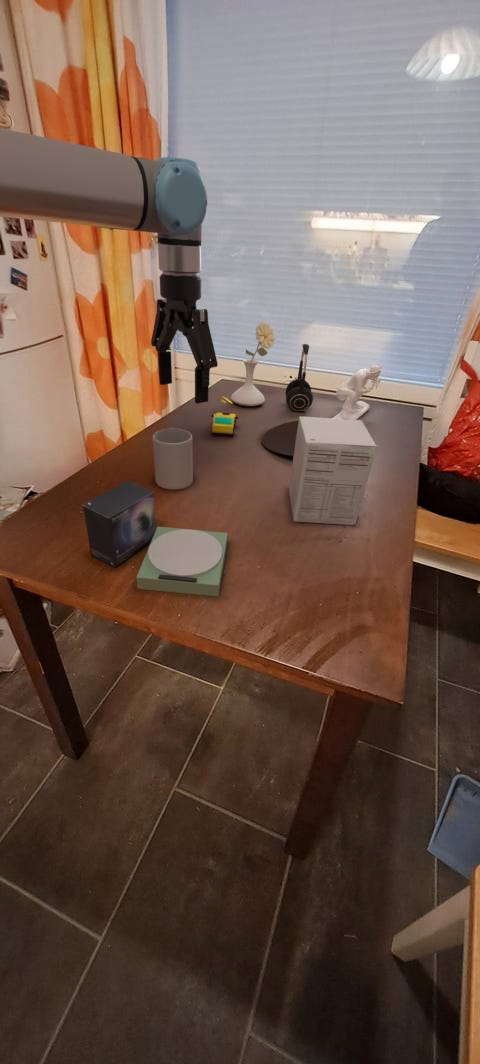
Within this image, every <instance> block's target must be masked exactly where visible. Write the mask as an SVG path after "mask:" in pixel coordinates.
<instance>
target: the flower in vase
mask: <svg viewBox="0 0 480 1064" xmlns="http://www.w3.org/2000/svg"><path fill="white" fill-rule="evenodd" d="M254 334H255V340H256V341H257V346H256V350H255V352H254V353H253V352H251V351H249V350H247V349H245V354H246V355H248V356H251V358H244V359H242V362H243V364H244V365H245V382H244V384H243V385H242V386H241V387H239V388H238V389H236V390H235V391H234V392H233V393H232V394H231V398H230V399H231V400H232V401H231V402H232V403H235V404H237V405H240V406H244V407H257V406H260V405H263V403H264V402H265V401H266V399H265V396H264V394H263V393H262V392H261V391H260V390H259V389H258V388H257V387H256V386H255V385H254V372H255V368H256V366H257V365H258V363H259V360H258V359H255V356H256V353H258V355H259V356H260V357H264V356H266V355H268V351H267V349H268V350H270V348H271V347H273V345H274V344H275V342H274V341H275V340H276V338H275V334H274V332H273V328H271V327H270V324H269V323H267V322H263V321H261V322H260V323H258V325H256V327H255V333H254Z"/></svg>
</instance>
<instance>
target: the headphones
mask: <svg viewBox="0 0 480 1064" xmlns="http://www.w3.org/2000/svg"><path fill="white" fill-rule="evenodd" d="M309 350H310V345H309V344H308V343H303V344H302V351H301V357H300V361H299V368H298V374H297V378H295V379H294V380H293V379H292V380H291V381H290V382H289V383H288V384H287V386H286V387H285V403H286V405H287V407H288V408H289V409H290V410H292V411H295V412H303V411H306V410H308V409H309V408H310V407H311V406H312V404H313V401H314V395H313V393H312V387H311V385H310V383H309V382H308V381H307V380H306V375H307V366H308V365H307V363H308V355H309Z"/></svg>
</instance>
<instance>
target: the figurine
mask: <svg viewBox="0 0 480 1064" xmlns="http://www.w3.org/2000/svg"><path fill="white" fill-rule="evenodd" d="M381 368H382V366H379V365H377V364H373V365H371V366H370V367H369V368H366V367H365V368H360V369H359V370H357V371H356V372H354V374H353V375H352V376H350V378H348V379H346V380H345V381H344V382H343V383H342V384H341V385H339V387H338V388H337V389H336V392H335V395H336V399H337V400H339V401H343V402H344V403H343V404H342V406H341V408H342V409H341V411H340V412H338V414H336V415H334V416H333V417H332V418H334V419H349V420H359V419H360V418H361V417H362V416H363V415H364V414H365V413H366V412H368V411H369V409H370V404H369V403H368V402H365V401H363V400H361V398H362V397H363V395H365V394H367V393H370V392H371V391H372V390H373V389H374V388H375V389H377V388H378V387H380V385H379V384H380V383H381V378H380V377H379V376H380V374H381V372H382V369H381ZM369 380H370V382H371V383H372V385H370V386H368V388H367V386H366V384H368V381H369Z"/></svg>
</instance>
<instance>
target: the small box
mask: <svg viewBox="0 0 480 1064" xmlns="http://www.w3.org/2000/svg"><path fill="white" fill-rule="evenodd" d="M154 497H155V496H154V491H153V490H151V489H148V488H146V487H143V486H141V485H139V484H137V483H134V482H132V481H130V480H127V481H124V482H123V483H121V484H119V485H117V486H116V487H114V488H112V489H111V488H110V489H109V490H107V491H106V492H104V493H101V494H100V495H98V496H96V497H94V498H92V499H90V500H88V501H86V502H85V503H83V504H82V509H83V515H84V520H85V527H86V532H87V539H88V544H89V555H90V556H91V557H94V558H96V559H98V560H100V561H101V562H103V563H105V564H106V565H108V566H111V567H113V568H117V567H119V566H120V565H121V564H123V563H124V562H126V561H127V560H129V559H130V558H132V557H133V556H134V555H136V554H137V553H138V552H140V551H141V550H143V549H144V548H146V547H147V546H148V545H150V543H151V541H152V539H153V536H154V534H155V531H156V516H155V515H156V514H155V498H154Z"/></svg>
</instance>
